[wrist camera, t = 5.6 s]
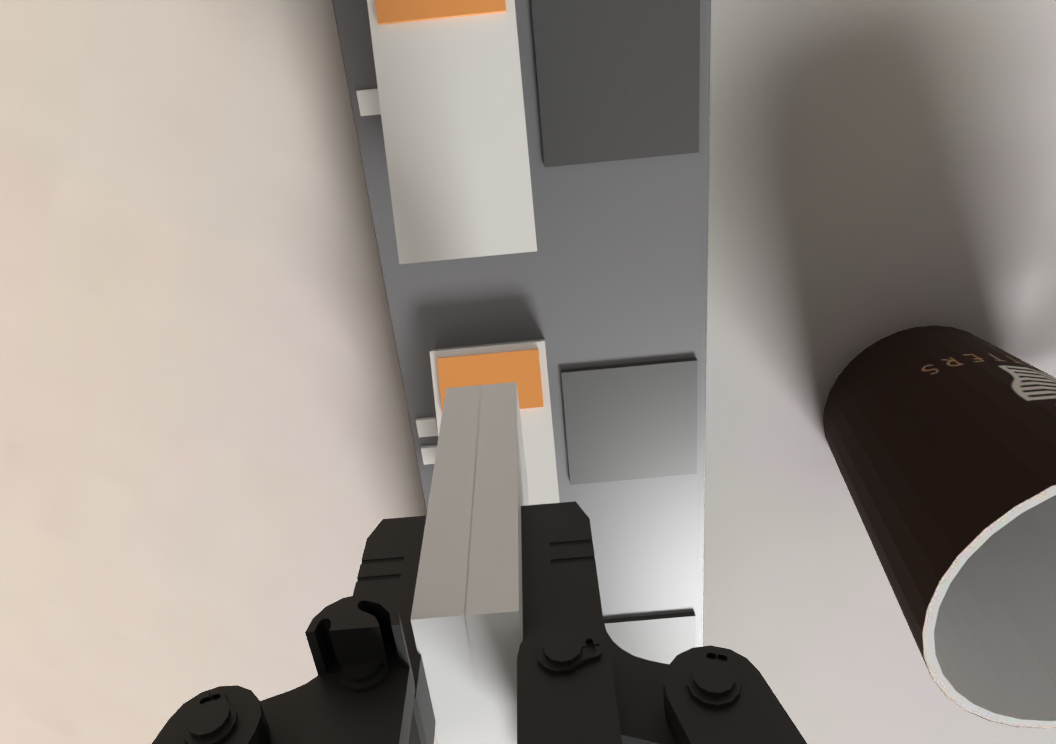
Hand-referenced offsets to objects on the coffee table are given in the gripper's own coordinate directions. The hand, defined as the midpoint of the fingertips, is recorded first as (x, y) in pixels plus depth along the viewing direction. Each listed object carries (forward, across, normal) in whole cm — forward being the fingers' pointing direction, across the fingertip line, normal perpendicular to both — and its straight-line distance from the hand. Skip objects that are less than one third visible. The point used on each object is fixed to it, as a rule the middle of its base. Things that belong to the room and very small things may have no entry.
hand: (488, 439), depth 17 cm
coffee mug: (+10, +15, -7) cm, 20 cm away
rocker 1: (+5, 0, +6) cm, 8 cm away
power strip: (+10, +2, -8) cm, 12 cm away
